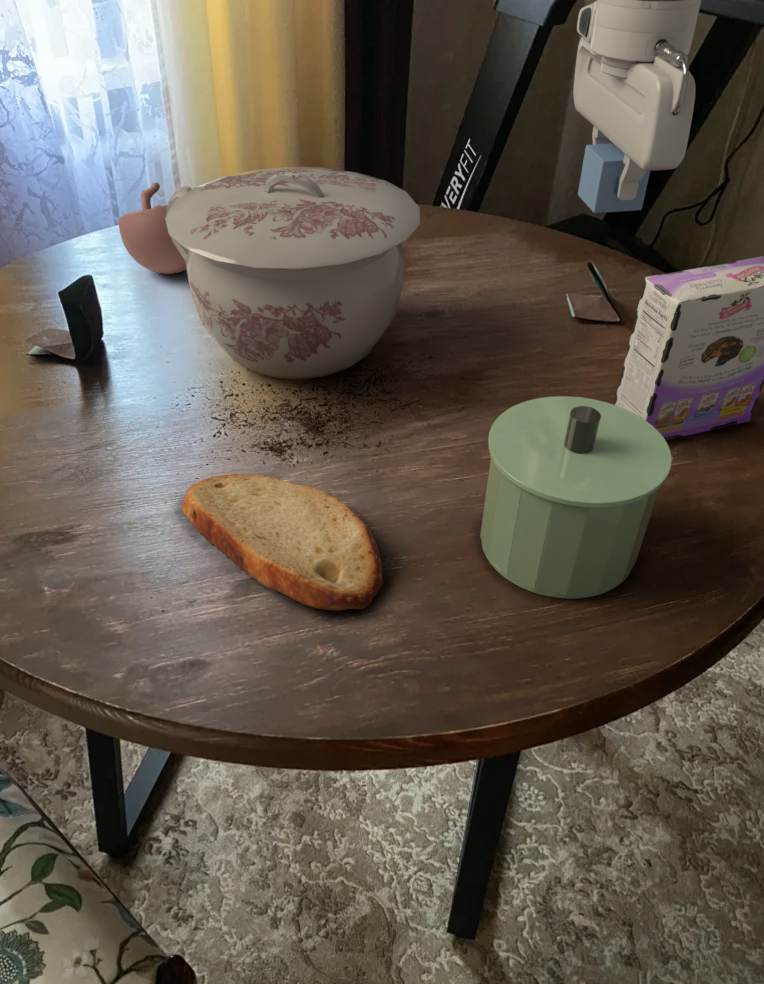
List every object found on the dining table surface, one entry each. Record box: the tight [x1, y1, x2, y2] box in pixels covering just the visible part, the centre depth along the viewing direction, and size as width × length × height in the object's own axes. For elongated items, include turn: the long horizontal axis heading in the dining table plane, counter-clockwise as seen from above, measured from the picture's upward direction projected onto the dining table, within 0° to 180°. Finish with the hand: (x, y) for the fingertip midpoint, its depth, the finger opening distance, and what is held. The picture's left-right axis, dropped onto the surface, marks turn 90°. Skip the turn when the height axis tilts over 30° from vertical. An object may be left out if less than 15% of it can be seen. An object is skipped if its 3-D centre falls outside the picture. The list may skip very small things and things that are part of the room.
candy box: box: [613, 255, 764, 442], centre depth 84 cm, size 14×6×16 cm, turn 108°
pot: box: [479, 457, 660, 600], centre depth 72 cm, size 14×14×10 cm
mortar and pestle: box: [118, 182, 187, 275], centre depth 114 cm, size 12×12×11 cm
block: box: [577, 143, 651, 214], centre depth 84 cm, size 5×5×5 cm
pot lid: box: [487, 395, 673, 508], centre depth 68 cm, size 15×15×4 cm
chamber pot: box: [165, 166, 421, 380], centre depth 95 cm, size 28×28×21 cm
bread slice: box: [181, 473, 384, 611], centre depth 74 cm, size 18×18×4 cm
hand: (612, 185), depth 85 cm, fingers closed on block, 5 cm apart
